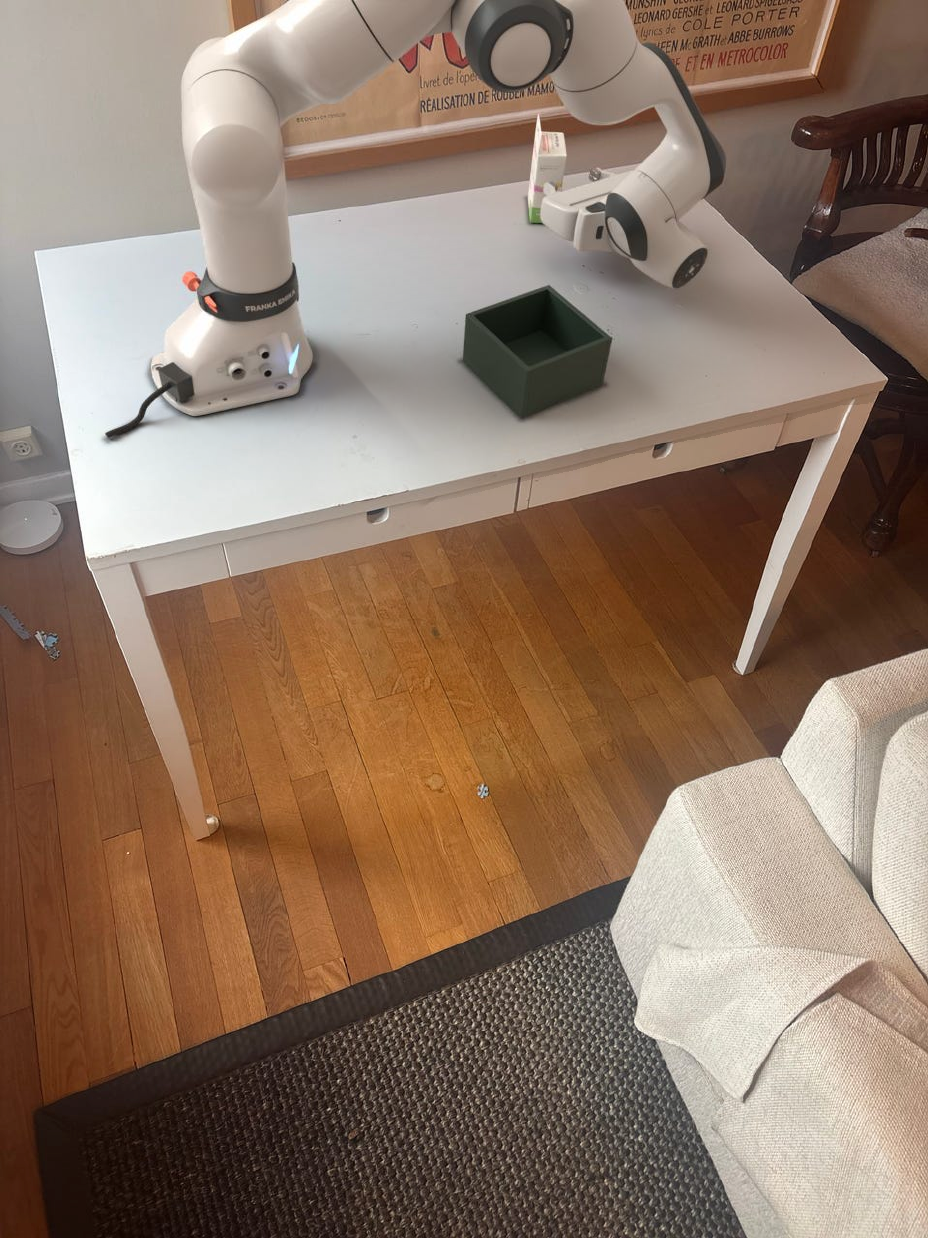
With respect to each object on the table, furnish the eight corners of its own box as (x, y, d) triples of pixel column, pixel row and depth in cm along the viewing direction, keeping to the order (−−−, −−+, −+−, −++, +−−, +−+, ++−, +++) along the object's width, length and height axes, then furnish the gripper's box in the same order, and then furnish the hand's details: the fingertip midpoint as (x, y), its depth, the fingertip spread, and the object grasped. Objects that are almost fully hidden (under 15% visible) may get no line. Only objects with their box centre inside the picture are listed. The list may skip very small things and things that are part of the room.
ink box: (558, 224, 164) (570, 137, 153) (529, 223, 164) (539, 136, 152) (555, 198, 170) (566, 112, 158) (527, 197, 169) (536, 110, 158)
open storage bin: (521, 418, 133) (527, 371, 127) (462, 361, 140) (465, 313, 134) (602, 384, 139) (612, 338, 132) (542, 331, 146) (549, 284, 139)
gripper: (678, 183, 152) (622, 145, 159) (576, 216, 144) (522, 174, 151) (669, 221, 157) (615, 182, 164) (570, 254, 149) (518, 212, 156)
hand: (570, 179), depth 157 cm, fingers open, 8 cm apart
